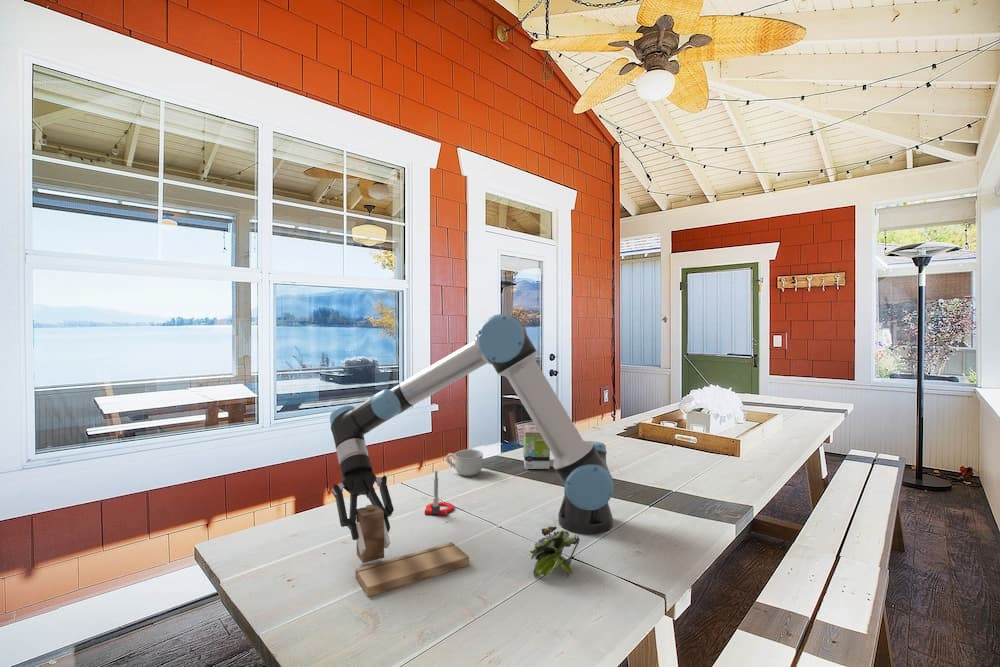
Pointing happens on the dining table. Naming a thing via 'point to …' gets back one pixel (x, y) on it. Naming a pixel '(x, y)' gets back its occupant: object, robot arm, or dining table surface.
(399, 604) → the dining table surface
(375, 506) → the block
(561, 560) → the passion flower
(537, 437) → the tea box
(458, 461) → the teacup
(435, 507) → the tow hook
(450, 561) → the board
